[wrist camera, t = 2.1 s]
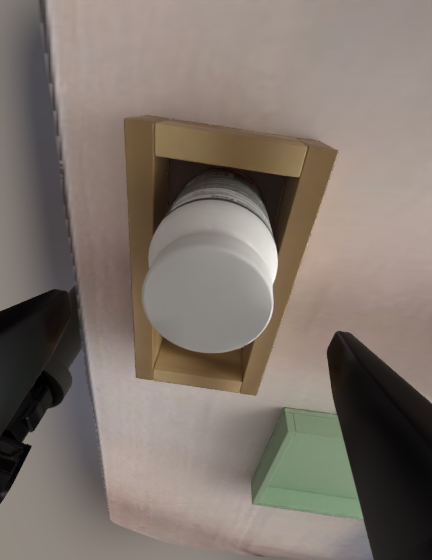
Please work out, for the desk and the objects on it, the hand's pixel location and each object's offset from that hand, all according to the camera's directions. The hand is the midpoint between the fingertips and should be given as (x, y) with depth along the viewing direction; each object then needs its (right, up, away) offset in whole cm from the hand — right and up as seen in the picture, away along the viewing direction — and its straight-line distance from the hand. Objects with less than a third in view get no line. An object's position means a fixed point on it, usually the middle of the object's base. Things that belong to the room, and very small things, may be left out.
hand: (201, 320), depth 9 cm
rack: (0, +2, +11) cm, 11 cm away
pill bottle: (+1, +6, +9) cm, 11 cm away
